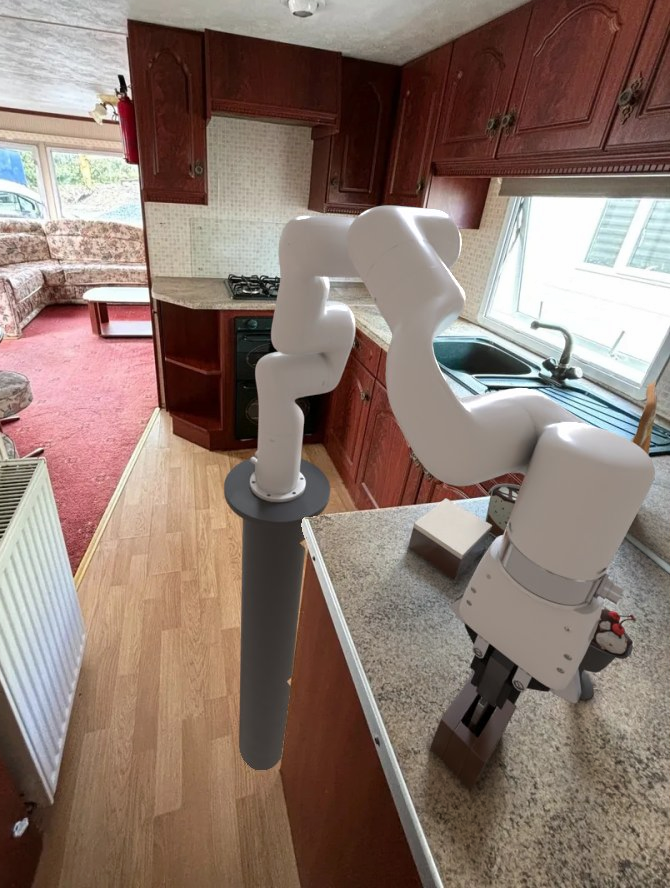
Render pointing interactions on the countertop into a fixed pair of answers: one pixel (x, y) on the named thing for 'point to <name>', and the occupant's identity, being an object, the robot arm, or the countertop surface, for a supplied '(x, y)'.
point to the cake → (449, 538)
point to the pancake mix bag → (647, 420)
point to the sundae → (604, 648)
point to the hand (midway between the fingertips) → (491, 686)
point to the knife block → (469, 735)
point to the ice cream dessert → (501, 507)
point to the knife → (490, 686)
